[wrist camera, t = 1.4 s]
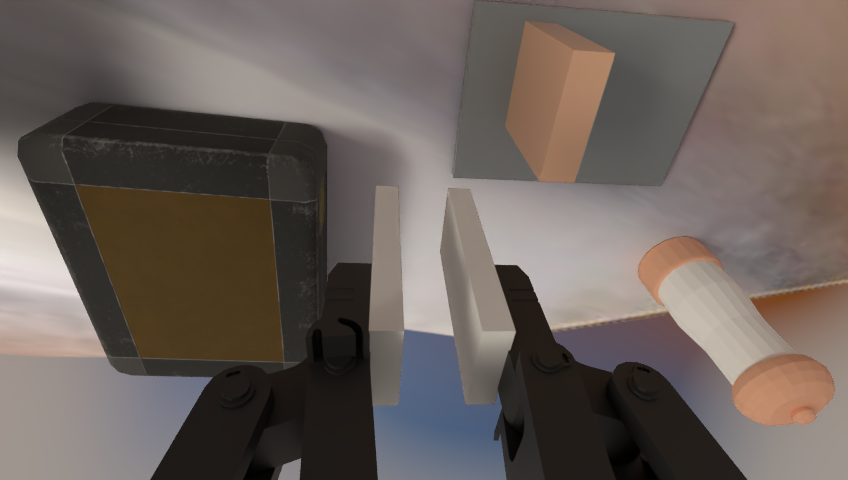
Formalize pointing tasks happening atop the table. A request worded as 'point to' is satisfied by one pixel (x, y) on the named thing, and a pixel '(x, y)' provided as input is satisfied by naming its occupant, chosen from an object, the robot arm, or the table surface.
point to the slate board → (622, 99)
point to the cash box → (187, 233)
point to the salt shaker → (735, 335)
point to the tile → (556, 98)
